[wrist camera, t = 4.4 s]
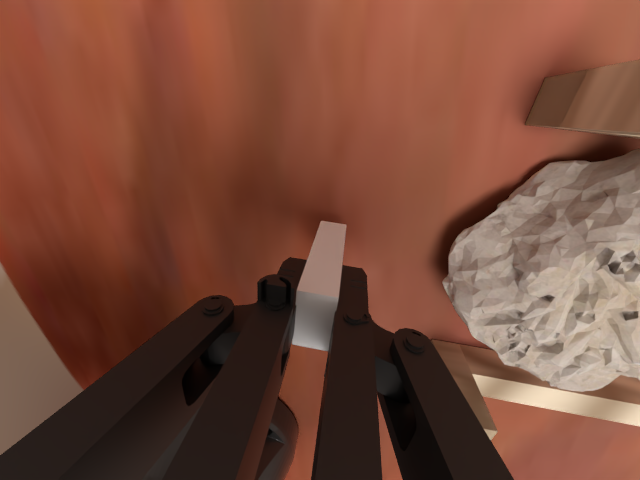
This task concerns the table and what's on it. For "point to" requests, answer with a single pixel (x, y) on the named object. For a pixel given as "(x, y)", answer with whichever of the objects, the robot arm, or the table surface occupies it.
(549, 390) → the track
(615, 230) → the rock
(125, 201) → the table surface
